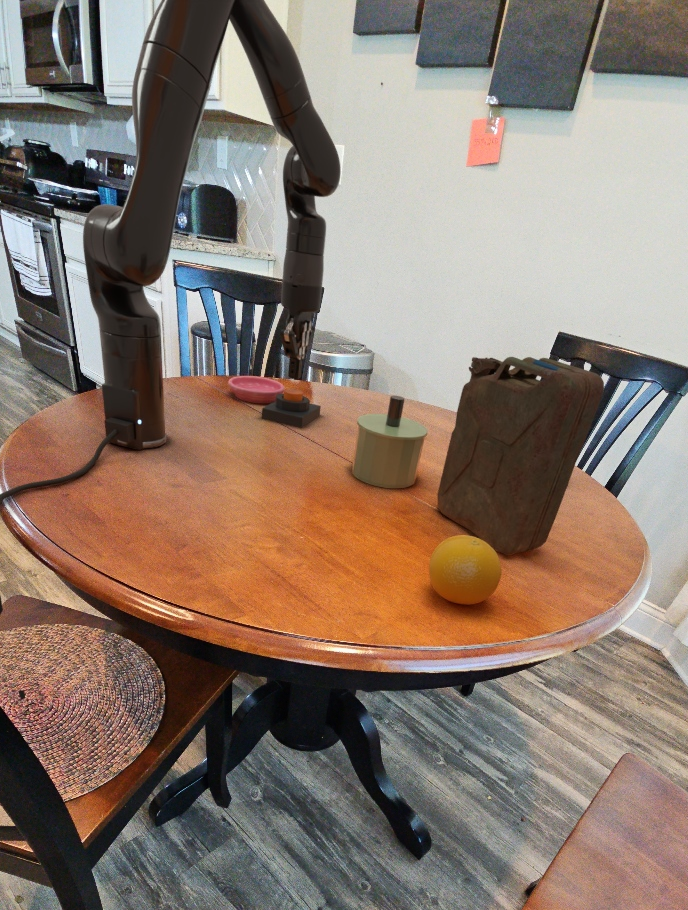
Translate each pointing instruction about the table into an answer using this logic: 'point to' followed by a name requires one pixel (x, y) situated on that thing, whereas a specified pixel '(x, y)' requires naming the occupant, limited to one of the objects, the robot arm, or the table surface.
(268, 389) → the saucer
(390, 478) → the pot
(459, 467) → the canister
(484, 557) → the fruit
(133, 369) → the robot arm
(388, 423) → the lid
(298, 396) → the button
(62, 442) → the table surface
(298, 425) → the button block
